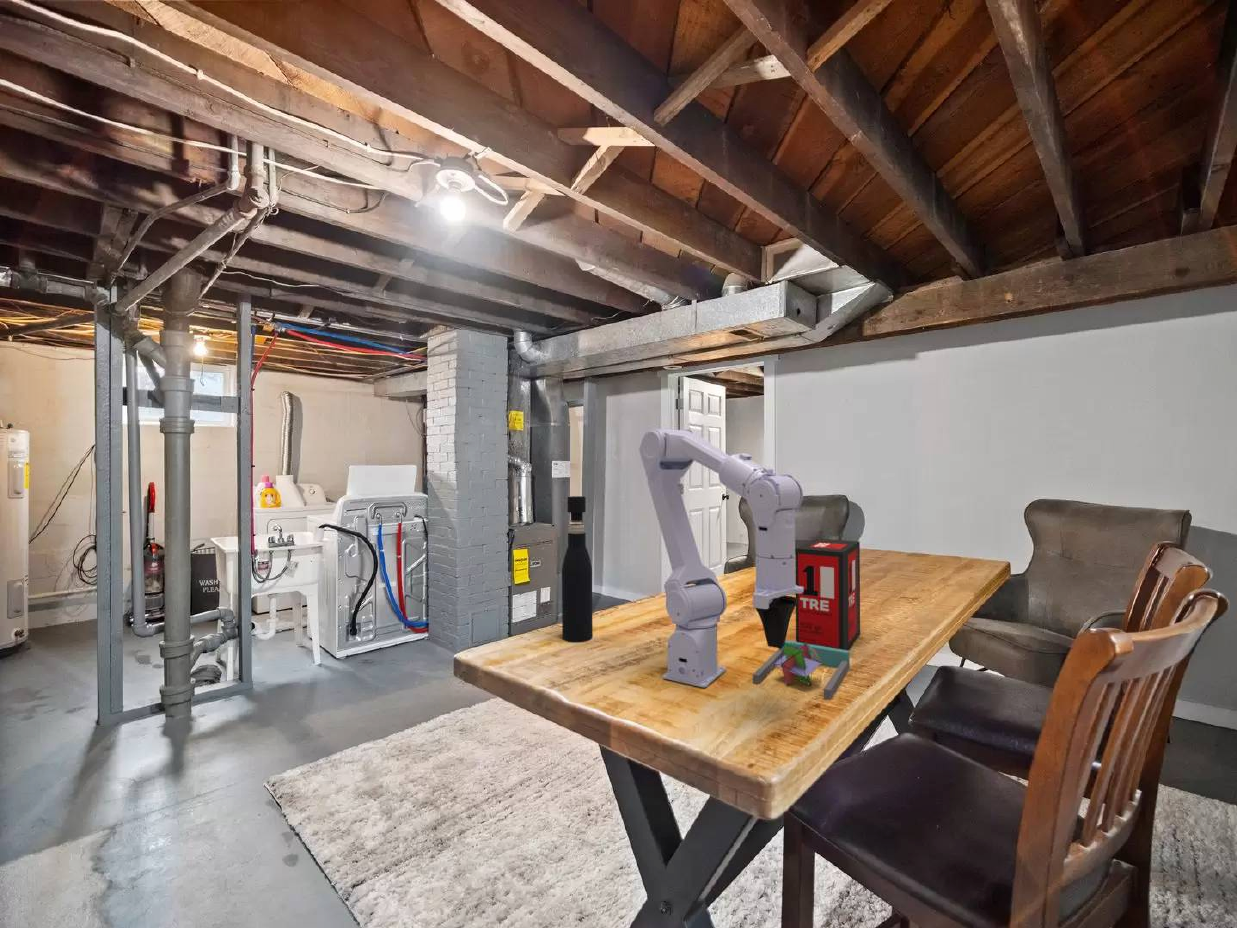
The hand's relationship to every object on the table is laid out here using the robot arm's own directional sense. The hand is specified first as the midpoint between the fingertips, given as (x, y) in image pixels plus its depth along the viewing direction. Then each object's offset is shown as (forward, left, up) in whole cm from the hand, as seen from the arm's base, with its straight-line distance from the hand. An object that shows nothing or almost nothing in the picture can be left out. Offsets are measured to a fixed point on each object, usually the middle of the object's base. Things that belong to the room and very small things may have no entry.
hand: (775, 646), depth 82 cm
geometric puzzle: (+12, 0, -10) cm, 15 cm away
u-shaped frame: (+16, 0, -9) cm, 18 cm away
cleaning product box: (+37, 0, -10) cm, 38 cm away
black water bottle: (+12, +46, -10) cm, 48 cm away
